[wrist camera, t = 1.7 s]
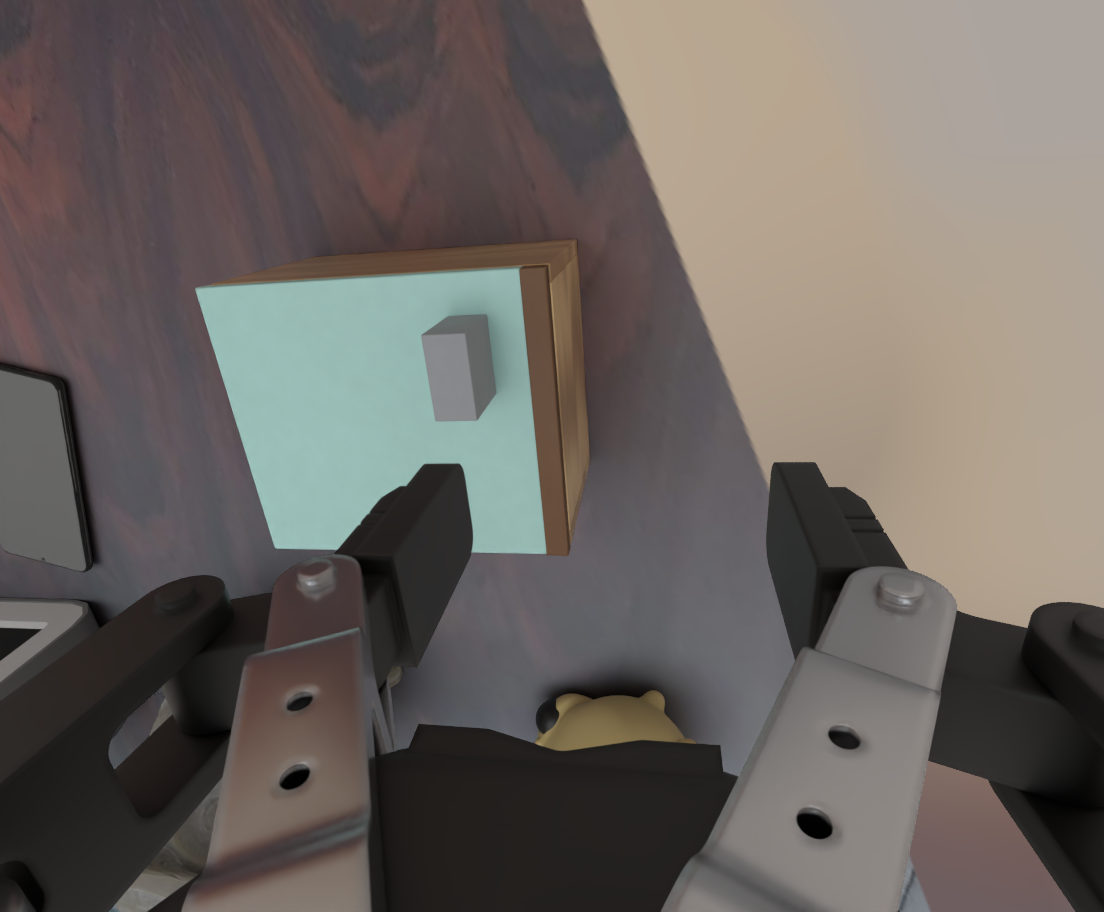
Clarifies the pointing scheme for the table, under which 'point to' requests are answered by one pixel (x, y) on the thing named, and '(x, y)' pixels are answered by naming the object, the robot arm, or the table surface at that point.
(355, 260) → the maple box
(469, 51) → the table surface
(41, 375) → the smartphone
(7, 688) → the alarm clock
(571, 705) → the toy pig
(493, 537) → the mint sliding box lid
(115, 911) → the sculpture
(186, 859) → the figurine
